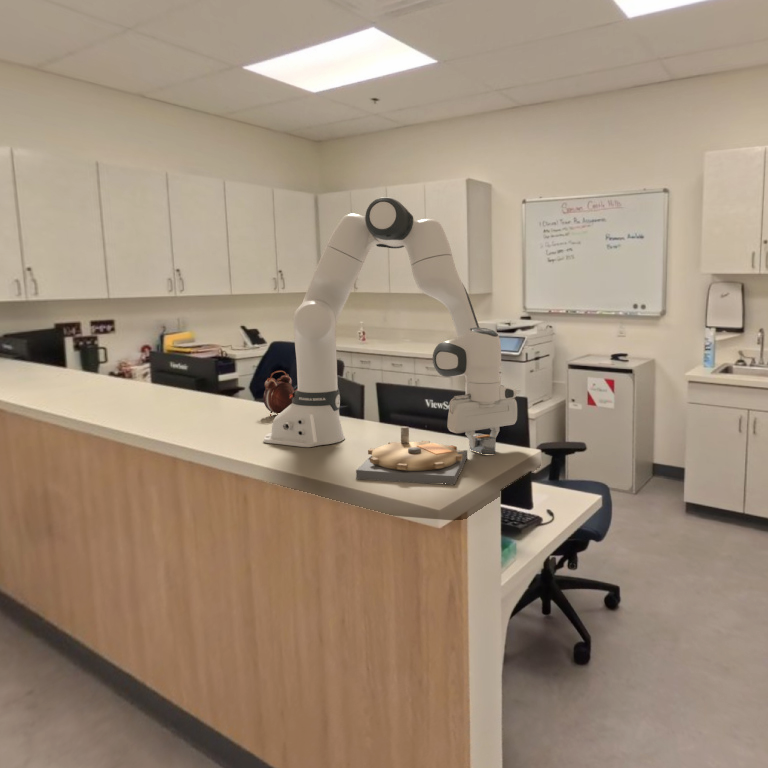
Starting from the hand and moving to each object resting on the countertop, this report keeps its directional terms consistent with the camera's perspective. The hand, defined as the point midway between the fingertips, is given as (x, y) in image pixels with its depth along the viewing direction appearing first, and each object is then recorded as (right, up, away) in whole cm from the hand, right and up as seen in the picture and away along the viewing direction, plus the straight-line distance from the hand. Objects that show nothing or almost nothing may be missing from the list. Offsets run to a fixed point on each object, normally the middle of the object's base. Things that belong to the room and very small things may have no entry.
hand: (482, 445), depth 164 cm
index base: (-18, -4, -13) cm, 23 cm away
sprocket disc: (-18, -2, -14) cm, 23 cm away
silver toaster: (0, -2, 0) cm, 2 cm away
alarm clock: (-60, +5, +51) cm, 79 cm away
